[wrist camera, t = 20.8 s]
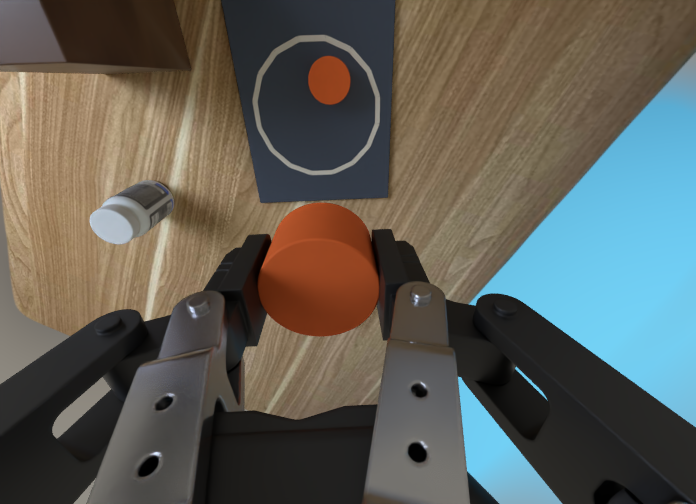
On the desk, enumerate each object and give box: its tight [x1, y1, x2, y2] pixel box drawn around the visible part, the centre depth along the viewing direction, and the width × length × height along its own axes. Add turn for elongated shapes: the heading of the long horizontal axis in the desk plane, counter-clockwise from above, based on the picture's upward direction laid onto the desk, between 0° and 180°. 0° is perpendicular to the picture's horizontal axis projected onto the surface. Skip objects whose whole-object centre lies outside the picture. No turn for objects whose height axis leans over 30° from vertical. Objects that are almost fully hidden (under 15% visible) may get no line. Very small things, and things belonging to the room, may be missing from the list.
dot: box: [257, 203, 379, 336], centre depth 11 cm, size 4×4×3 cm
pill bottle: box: [90, 180, 174, 244], centre depth 33 cm, size 5×5×8 cm
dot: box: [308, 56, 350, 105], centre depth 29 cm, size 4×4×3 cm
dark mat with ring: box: [221, 0, 395, 203], centre depth 32 cm, size 20×16×1 cm
